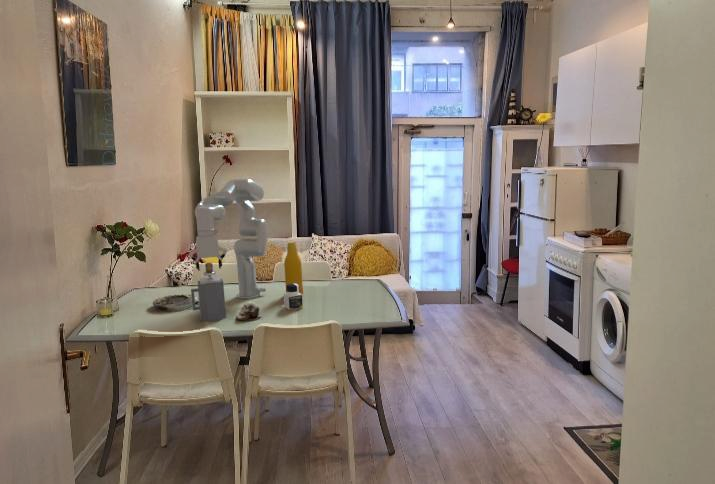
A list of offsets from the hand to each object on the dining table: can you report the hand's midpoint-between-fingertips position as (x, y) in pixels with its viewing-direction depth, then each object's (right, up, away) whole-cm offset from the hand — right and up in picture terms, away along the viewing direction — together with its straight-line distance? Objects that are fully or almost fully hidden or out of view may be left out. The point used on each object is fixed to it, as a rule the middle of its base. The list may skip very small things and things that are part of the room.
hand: (209, 269), depth 259 cm
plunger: (+1, -20, +3) cm, 20 cm away
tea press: (-1, -24, +3) cm, 24 cm away
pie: (-25, -21, +27) cm, 43 cm away
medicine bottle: (+38, -20, +16) cm, 46 cm away
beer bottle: (+36, -16, +40) cm, 56 cm away
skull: (+18, -24, +2) cm, 30 cm away
